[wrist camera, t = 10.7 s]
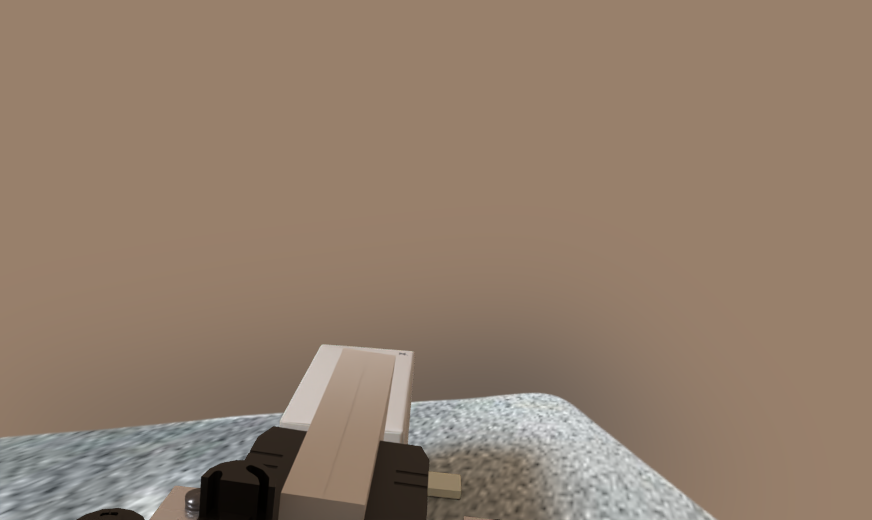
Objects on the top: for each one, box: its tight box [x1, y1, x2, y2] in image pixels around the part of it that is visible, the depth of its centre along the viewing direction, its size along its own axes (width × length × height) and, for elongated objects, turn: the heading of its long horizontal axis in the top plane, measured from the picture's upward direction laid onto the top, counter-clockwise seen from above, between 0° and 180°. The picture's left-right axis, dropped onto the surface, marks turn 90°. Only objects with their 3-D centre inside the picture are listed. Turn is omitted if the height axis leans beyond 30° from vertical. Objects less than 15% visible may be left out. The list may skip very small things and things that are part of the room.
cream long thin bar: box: [428, 471, 461, 499], centre depth 42 cm, size 14×2×1 cm, turn 89°
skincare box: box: [279, 344, 415, 444], centre depth 35 cm, size 10×6×10 cm, turn 179°
